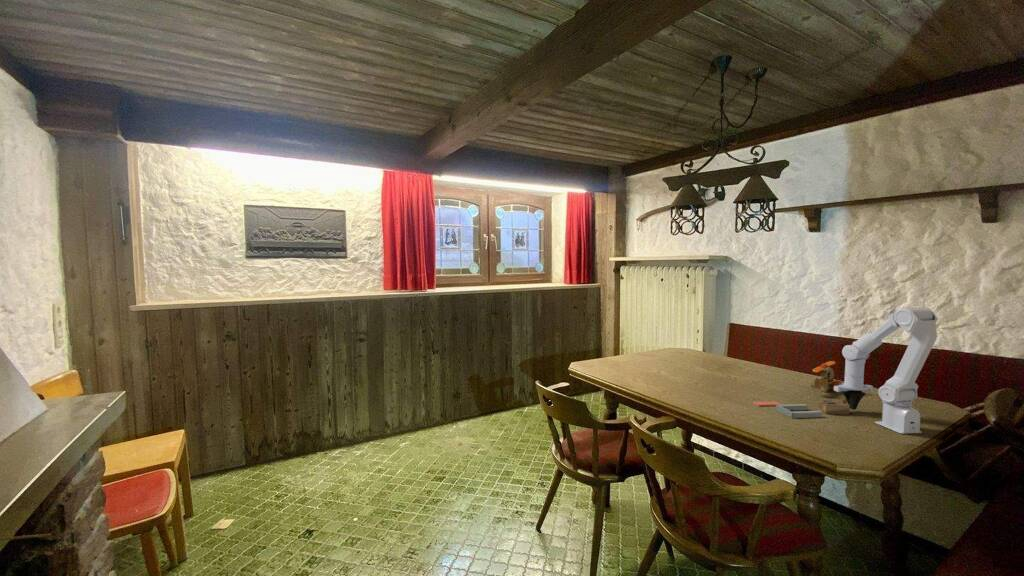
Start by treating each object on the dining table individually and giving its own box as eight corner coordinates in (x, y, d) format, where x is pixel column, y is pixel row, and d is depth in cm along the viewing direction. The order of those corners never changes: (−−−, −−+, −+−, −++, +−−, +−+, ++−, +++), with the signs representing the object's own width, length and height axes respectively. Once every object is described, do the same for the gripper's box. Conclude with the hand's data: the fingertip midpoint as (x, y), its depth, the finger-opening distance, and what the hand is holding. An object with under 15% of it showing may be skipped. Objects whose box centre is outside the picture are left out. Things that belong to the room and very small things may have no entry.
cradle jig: (821, 417, 154) (822, 412, 154) (791, 418, 153) (791, 413, 153) (804, 408, 162) (804, 404, 162) (775, 409, 161) (776, 405, 161)
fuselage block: (849, 414, 156) (849, 400, 156) (825, 414, 157) (826, 400, 156) (841, 410, 160) (842, 397, 160) (818, 410, 161) (818, 397, 160)
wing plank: (776, 404, 169) (776, 401, 169) (782, 407, 166) (782, 404, 165) (753, 404, 169) (753, 401, 169) (758, 407, 165) (758, 404, 165)
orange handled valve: (842, 390, 184) (843, 361, 183) (823, 399, 173) (824, 368, 172) (821, 385, 191) (822, 357, 190) (801, 394, 179) (803, 364, 178)
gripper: (862, 371, 162) (860, 404, 163) (828, 372, 161) (826, 405, 162) (879, 377, 155) (877, 410, 156) (843, 377, 154) (841, 412, 155)
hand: (852, 408), depth 159 cm, fingers closed
